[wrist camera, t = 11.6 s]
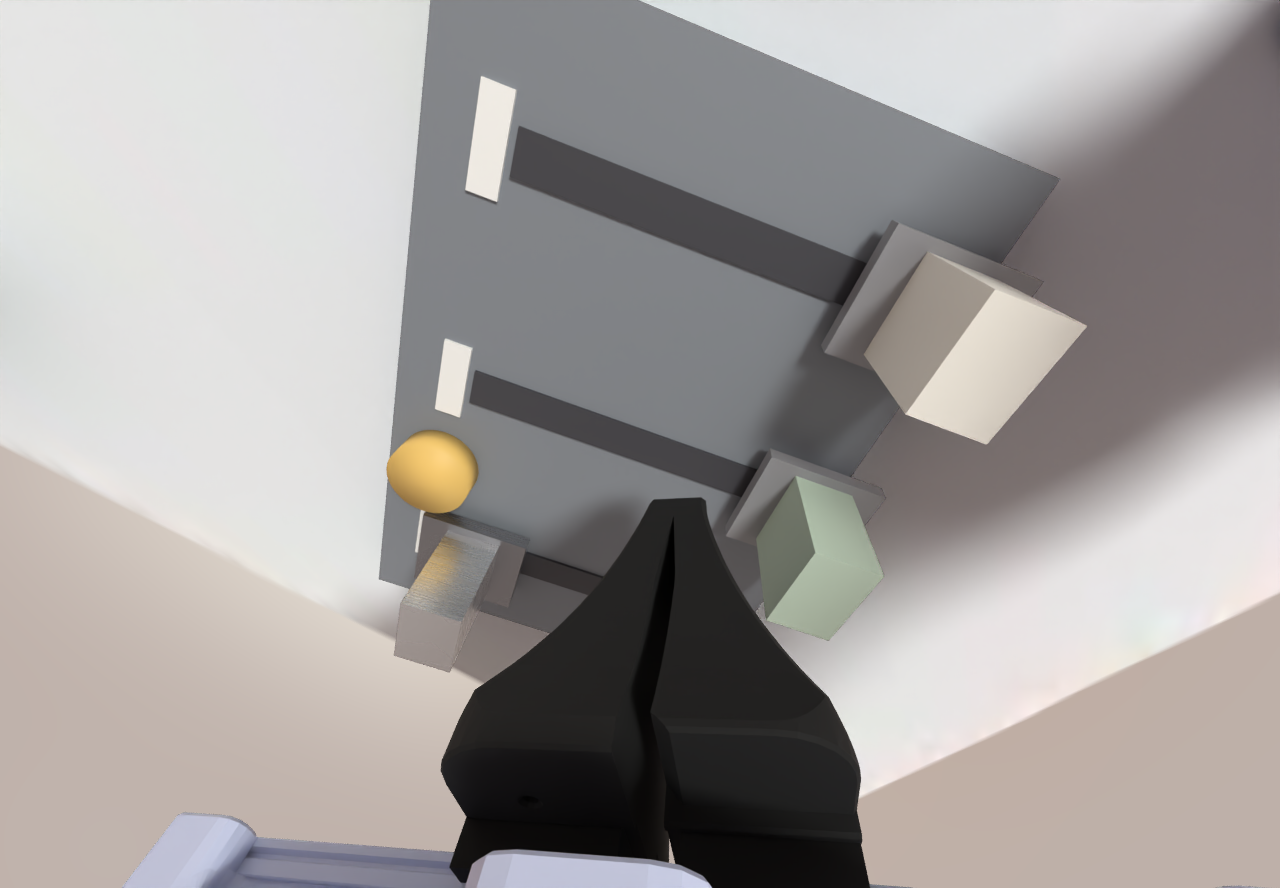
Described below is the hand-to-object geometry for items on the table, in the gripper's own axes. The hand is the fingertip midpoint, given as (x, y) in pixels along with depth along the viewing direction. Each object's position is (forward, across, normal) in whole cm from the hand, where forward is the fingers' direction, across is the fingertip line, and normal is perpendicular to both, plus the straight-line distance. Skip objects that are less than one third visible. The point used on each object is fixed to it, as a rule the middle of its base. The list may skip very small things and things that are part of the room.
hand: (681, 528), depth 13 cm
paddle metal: (+3, +8, +3) cm, 9 cm away
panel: (+4, +2, -1) cm, 5 cm away
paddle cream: (+3, -6, -4) cm, 8 cm away
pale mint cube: (+3, -3, +2) cm, 5 cm away
